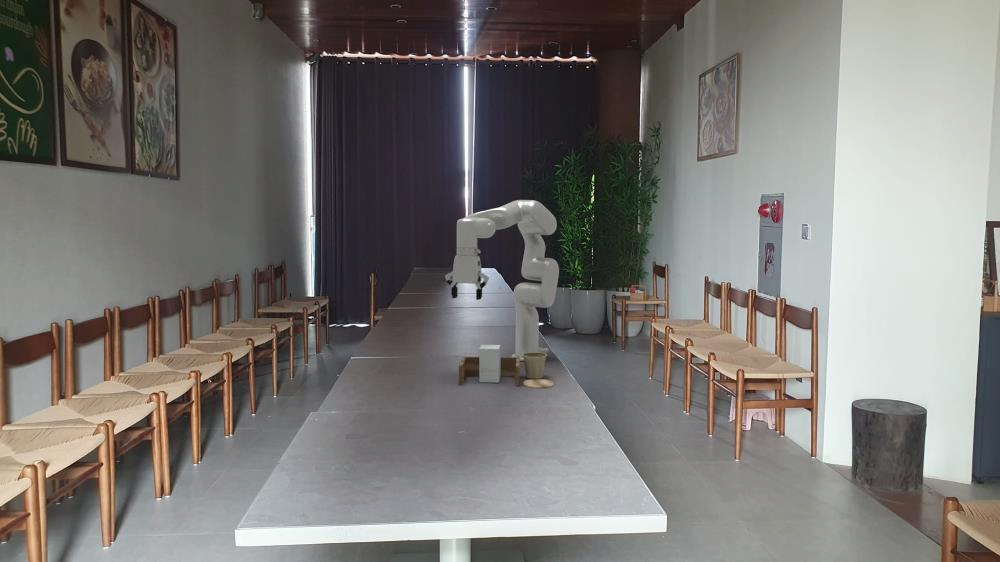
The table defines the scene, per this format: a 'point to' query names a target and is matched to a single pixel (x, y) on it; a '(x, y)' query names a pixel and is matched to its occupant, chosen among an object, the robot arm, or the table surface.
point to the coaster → (538, 383)
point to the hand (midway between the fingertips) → (466, 298)
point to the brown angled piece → (471, 367)
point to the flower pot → (534, 364)
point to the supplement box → (489, 363)
